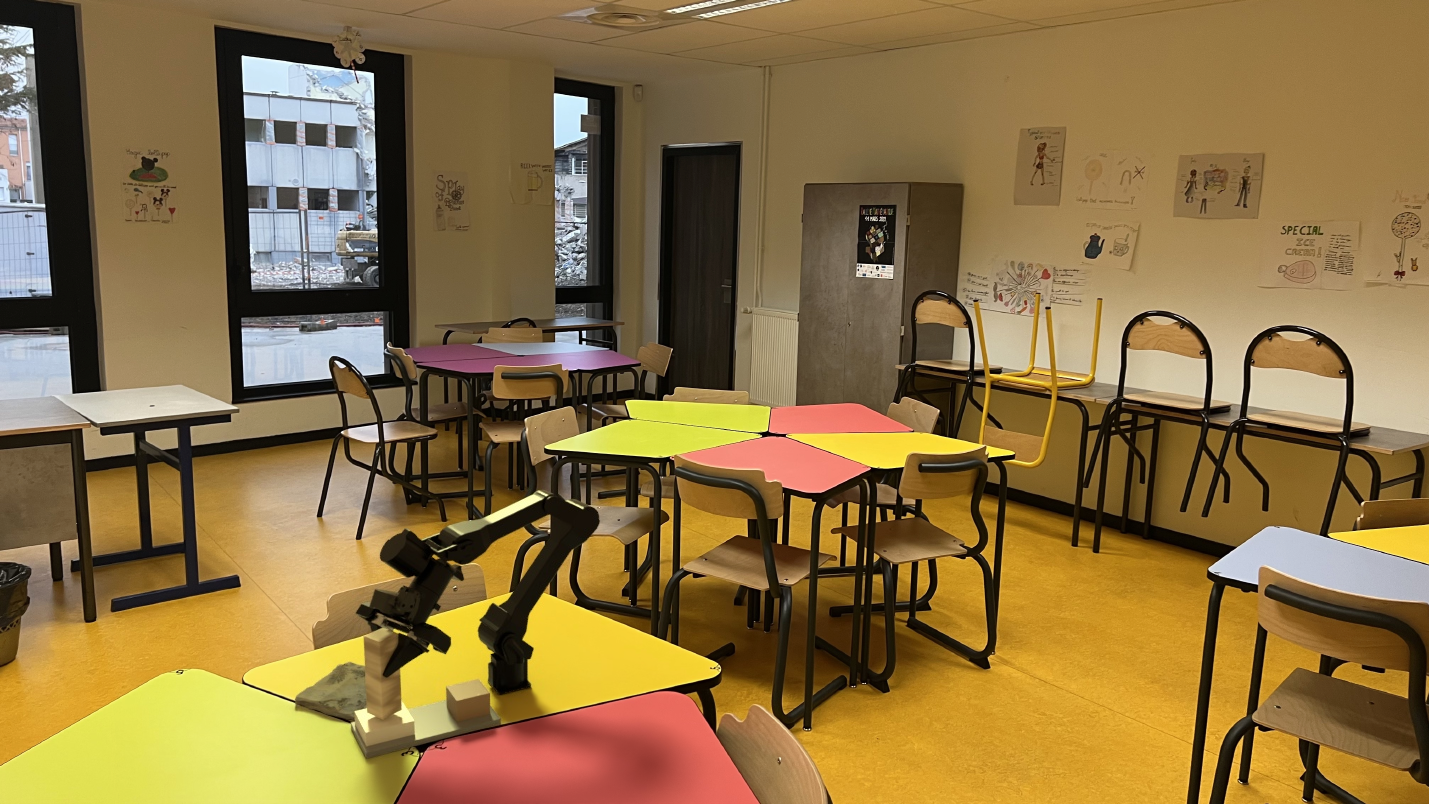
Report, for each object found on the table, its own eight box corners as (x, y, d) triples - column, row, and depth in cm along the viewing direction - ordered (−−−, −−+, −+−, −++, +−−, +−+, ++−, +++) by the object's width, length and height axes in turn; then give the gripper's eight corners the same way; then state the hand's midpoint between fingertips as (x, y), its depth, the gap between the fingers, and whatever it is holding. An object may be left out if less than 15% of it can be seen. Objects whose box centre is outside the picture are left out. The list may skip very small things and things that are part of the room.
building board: (479, 696, 185) (479, 671, 184) (500, 723, 176) (500, 697, 175) (350, 727, 173) (349, 701, 172) (366, 758, 164) (365, 730, 163)
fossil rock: (340, 670, 195) (339, 658, 195) (411, 679, 192) (410, 668, 192) (285, 713, 178) (284, 701, 178) (361, 725, 175) (361, 712, 175)
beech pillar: (386, 702, 173) (383, 627, 170) (401, 709, 171) (398, 633, 168) (367, 712, 170) (363, 635, 167) (382, 719, 168) (379, 642, 165)
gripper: (362, 557, 174) (309, 639, 167) (436, 582, 164) (383, 669, 157) (400, 586, 182) (351, 665, 175) (472, 611, 172) (424, 695, 165)
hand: (376, 673), depth 168 cm, fingers closed on beech pillar, 4 cm apart
